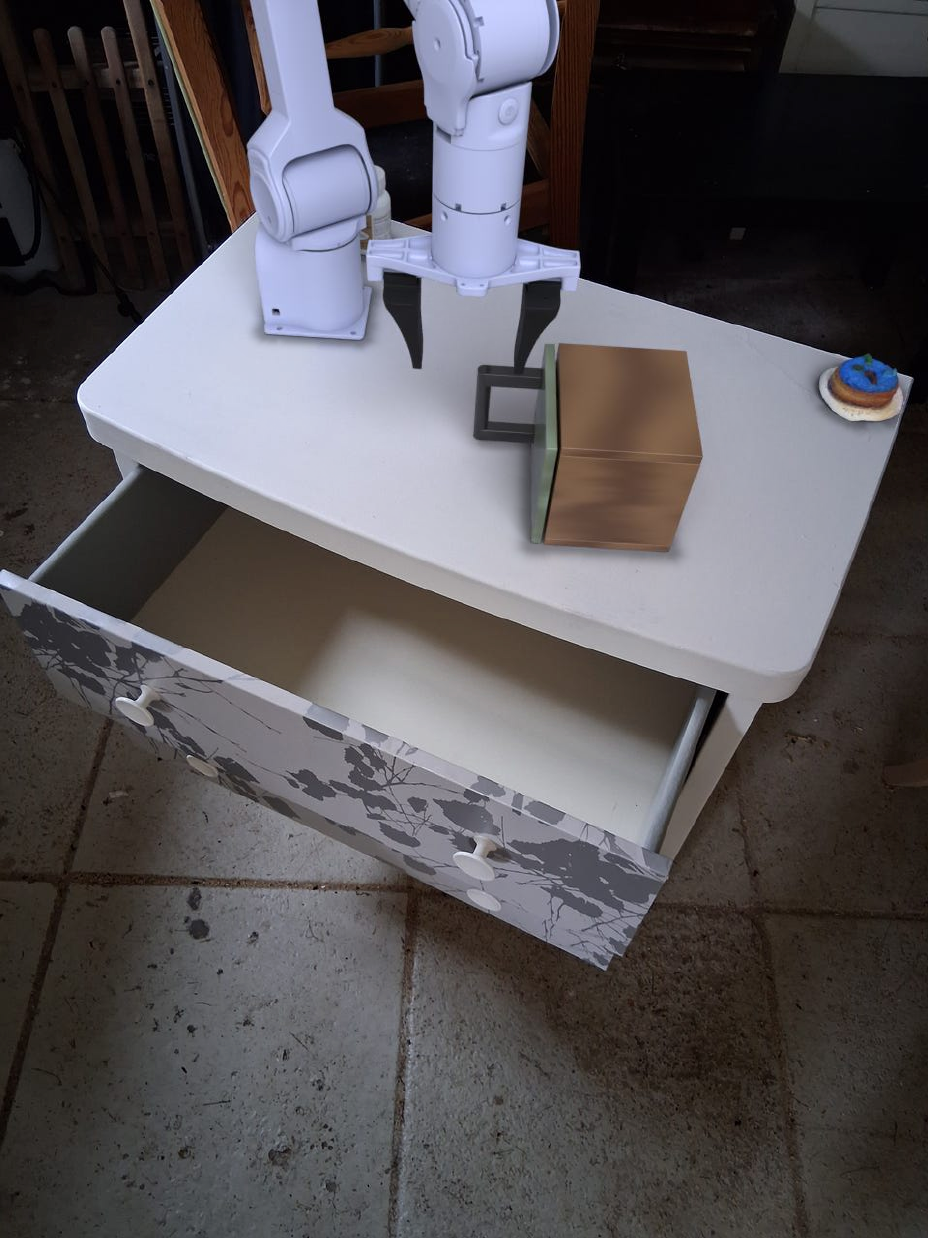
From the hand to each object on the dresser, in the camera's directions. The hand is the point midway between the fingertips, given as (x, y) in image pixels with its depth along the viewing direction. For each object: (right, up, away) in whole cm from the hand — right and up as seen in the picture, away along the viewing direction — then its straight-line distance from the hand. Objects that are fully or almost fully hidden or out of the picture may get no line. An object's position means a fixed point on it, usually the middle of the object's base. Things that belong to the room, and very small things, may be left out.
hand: (468, 363), depth 68 cm
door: (+3, -9, +6) cm, 11 cm away
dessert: (+36, -1, +15) cm, 40 cm away
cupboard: (+11, -9, +6) cm, 16 cm away
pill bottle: (-10, +20, +26) cm, 34 cm away
